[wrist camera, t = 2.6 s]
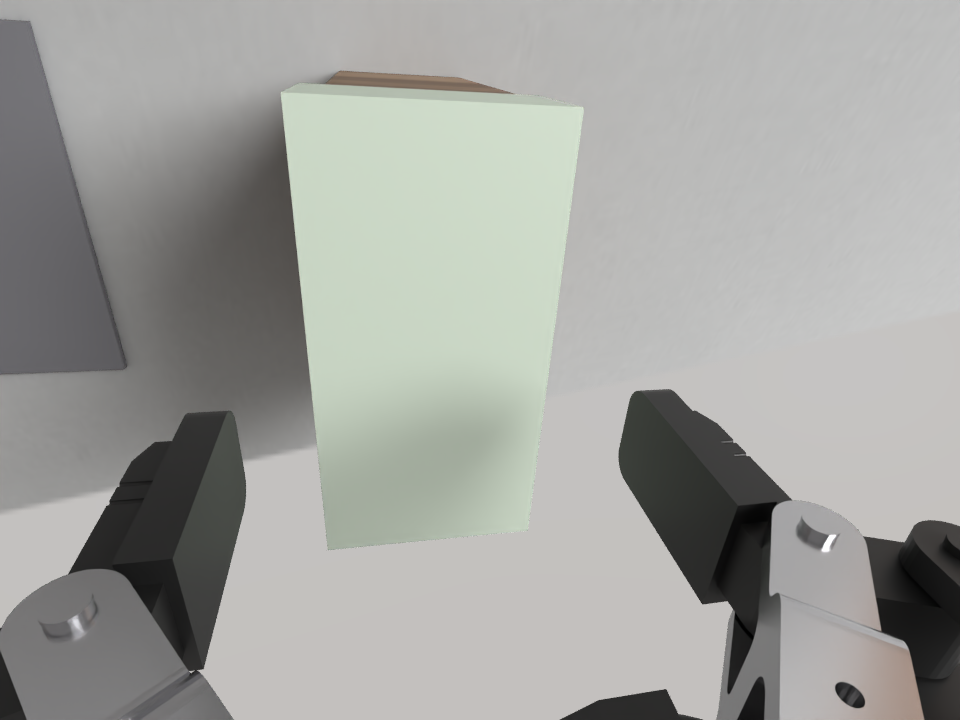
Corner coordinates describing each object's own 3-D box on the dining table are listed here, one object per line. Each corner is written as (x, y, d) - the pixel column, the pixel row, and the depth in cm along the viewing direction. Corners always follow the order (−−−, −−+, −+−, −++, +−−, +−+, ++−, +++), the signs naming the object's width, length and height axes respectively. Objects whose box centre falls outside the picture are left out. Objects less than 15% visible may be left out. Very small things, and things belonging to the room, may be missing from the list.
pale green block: (299, 83, 13) (280, 92, 10) (538, 95, 15) (584, 107, 12) (333, 471, 19) (327, 549, 16) (503, 459, 20) (527, 530, 17)
